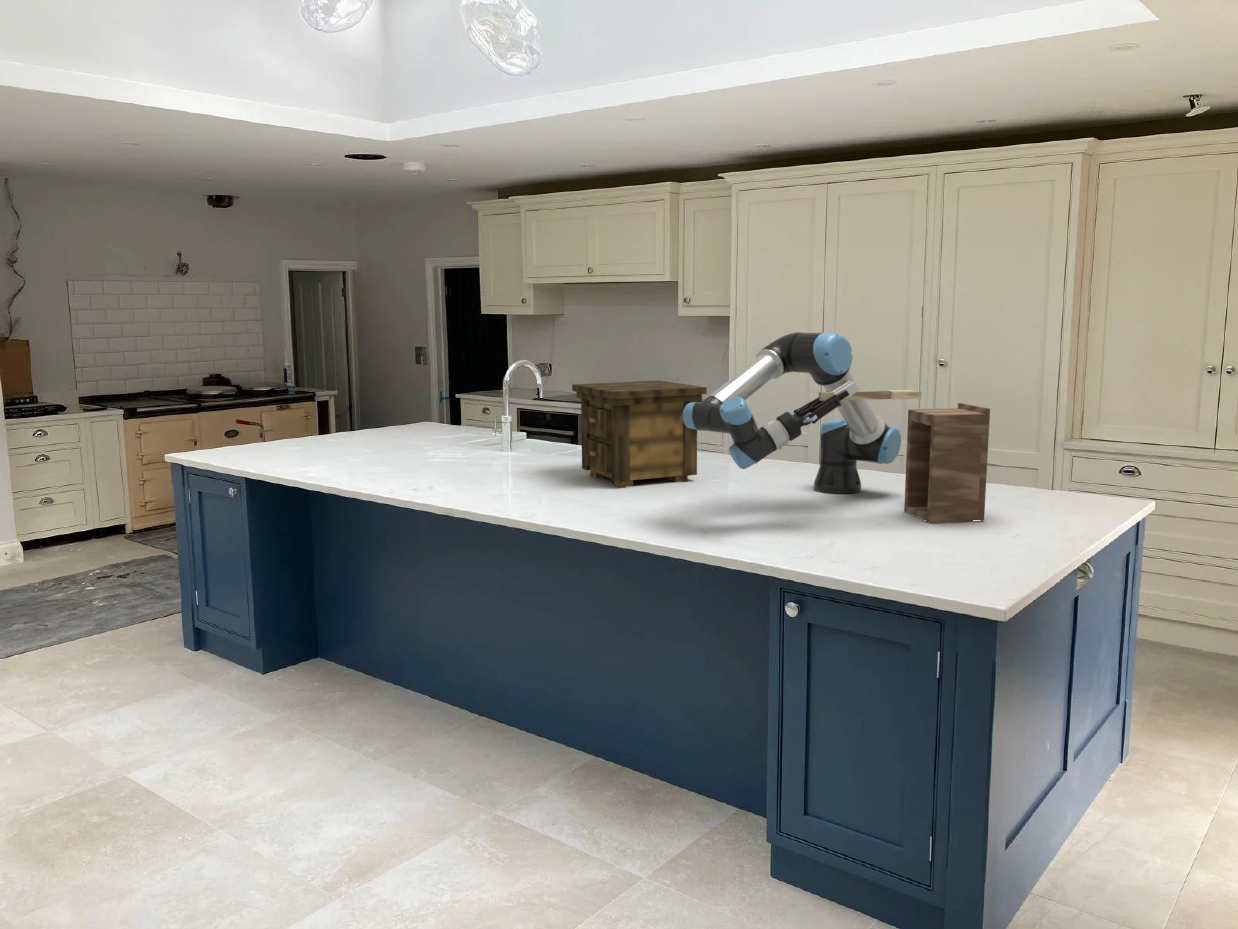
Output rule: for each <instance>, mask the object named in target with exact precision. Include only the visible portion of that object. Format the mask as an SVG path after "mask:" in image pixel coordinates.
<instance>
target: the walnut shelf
mask: <svg viewBox="0 0 1238 929" xmlns="http://www.w3.org/2000/svg"><path fill="white" fill-rule="evenodd" d="M990 418H991V408H988V407H983V406H979V405H974V404H973V405H972V404H967V403H963V402H958V403H957V407H955V408H954V407H952V408H951V407H950V408H921V409H920V408H917V409H915V408H914V409H908V412H907V435H906V455H905V456H906V459H905V460H906V462H905V481H904V482H905V484H904V485H905V486H904V505H903V507H904V510H903V511H905V512H904V513H906V512H907V513H906V514H908V513H910V514H912V515H914V516H913V517H915V516H916V517H915V518H917V517H919V518H921V519H922V520H921V519H920V520H921V521H923V520H926V521H927V522H926V521H925V522H926V523H928V522H929V523H928V524H930V523H935V524H946V523H945V522H956V523H962V522H961V521H973V520H984V521H985V508H986V493H987V492H986V491H987V475H988V473H987V471H988V458H989V457H988V455H989V453H988V452H989V440H990V439H989V436H990V422H991V421H990ZM910 514H909V515H910ZM912 515H911V516H912ZM919 518H918V519H919ZM943 522H944V523H943Z"/></svg>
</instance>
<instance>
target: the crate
mask: <svg viewBox="0 0 1238 929" xmlns="http://www.w3.org/2000/svg"><path fill="white" fill-rule="evenodd" d="M571 387H572V388H571V389H572V392H574V393H576V398H577V399H580V415H581V416H580V421H581V422H580V424H581V426H580V427H581V429H580V430H581V431H580V432H581V469H582V470H584V471H590V476H591V477H593V476H595V477H594V478H602V477H601V476H606V477H605V478H609V479H611V481H613V482H614V485H615V486H616V487H619V486H620V487H619V488H624V487H623V486H629V487H634V481H637V480H639V481H640V480H647V479H660V478H668V477H669V480H670V479H671V480H673V481H672V482H674V481H675V482H676V483H679V482H678V481H681V482H687V481H686V480H689V479H688V477H689V476H697V475H698V430H696V429H691V428H688V427H687V426H686V425H685V424H684V422H683V410H684V408H685V406H686V405H687V404H689V403H692V402H702V401H703V395H707V392H708V391H707V390H708V389H707V386H702V385H701V386H700V385H692V384H688V383H687V384H686V383H679V382H674V381H673V382H672V381H666V380H665V381H664V380H644V381H642V380H640V381H639V380H638V381H619V382H618V381H617V382H599V383H598V382H597V383H578V384H577V383H574V384H571ZM671 480H670V481H671Z"/></svg>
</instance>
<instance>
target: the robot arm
mask: <svg viewBox="0 0 1238 929" xmlns="http://www.w3.org/2000/svg"><path fill="white" fill-rule="evenodd" d="M852 352H853V350H852V345H851V343H850V342H849V340H848V339H847V338H846V337H845V336H844V335H842V334H839V333H835V332H791V333H788V334H785V335H782V336H781V337H779V338H777V339H775V340H773V341H772V342H770V343H768V344H767V345H766V346H764V347H763V348H762V349H760V350H759V351H758V352H757V354H756V355H755V356H756V357H755V358H754V360H752V361H751V362H750V363H748V364H747V365H746V366H745V367H743V368H742V369H741V370H739V371H738V372H737V373H736V374H735V375H734V376H732V377H731V378H730V379H728V381H725V383H723V384H722V385H721V386H720V387H718V388H717V389H716V390H715V391H713V392H712V393H711V394H710V395H709V396H708V395H707V397H706V398H705V399H702V401H697V402H692V403H689V404H687V405H686V406H685V408H684V410H683V422H684V424H685V425H686V426H687V427H688V428H691V429H696V430H697V431H704V432H714V433H720V434H721V433H722V434H729V435H730V436H731V439H732V442H733V443H732V445H731V446H729V448H728V452H729V454H730V456H731V458H732V460H733V461H734V463H735V464H736V465H737V467H738V468H740V469H741V470H746V469H747V468H750V467H752V466H753V465H756V464H758V463H759V462H760V461H762V460H763V459H764V458H766V457H767V456H769V455H770V454H772V453H773V452H775V451H777V450H782V449H783V447H784V446H785V445H787V444H788V443H789V442H791V441H794V440H796V439H797V438H798V437H800V436H801V435H802V433H803V432H802V430H801V429H802V427H805V426H808V425H810V424H811V423H812V425H814V424H816V423H817V422H818V421H819V420H820V419H822V418H824V417H825V416H827V415H828V414H829V413H831V412H832V411H834V410H835V409H837V410H838V411H839V413H840V415H841V417H842V419H833V420H827V421H824V422H822V424H821V428H820V434H819V435H820V452H819V454H820V455H819V467H818V470H817V473H816V476H815V479H814V482H813V490H815V491H817V490H819V491H818V492H820V491H822V492H821V493H826V492H827V494H840V493H843V494H853V493H855V492H856V493H859V492H861V491H862V481H861V478H860V475H859V474H860V473H859V471H858V469H857V468H858V467H857V461H858V462H864V463H865V462H867V463H874V464H878V465H881V464H883V465H884V464H885V465H889V464H891V463H893V462H894V461H895V460H896V459H897V457H898V455H899V453H900V450H901V446H902V433H901V431H900V430H899V428H897V427H894V426H888V425H887V422H885V419H884V418H883V417H882V416H881V415H878V414H875V412H874V411H873V409H872V407H871V405H870V404H869V401H868V400H845V399H846V398H848V397H849V396H851V395H853V394H854V393H856V392H857V391H862V390H861V389H860V386H859V385H858V383H857V381H856V380H855V378H854V376H853V375H852V373H851V372H850V370H851V365H852V363H853V354H852ZM788 373H804V374H809V375H810V376H811V378H812V380H813V381H814V382H815V384H817V386H818V385H819V386H821V387H822V386H823V387H824V389H825V392H836V393H835V394H834V396H832V397H830V398H829V399H827V400H825V401H820V400H819V396H818V397H816V398H815V399H813V400H811V401H810V402H807V403H806V404H804V405H803V406H801V407H798V408H797V409H794V410H793V411H792V412H793V414H791V413H790V412H789V411H786V412H785V411H784V413H782V414H780V415H779V416H777V417H776V419H772V420H770V421H769V422H767V423H766V424H764V425H763V426H761V427H760V428H759V427H758V425H757V422H756V420H755V418H754V414H753V412H752V409H751V408H750V407H749V405H748V403H747V402H746V400H748V399H750V397H752V396H753V395H754V394H755V393H756V392H757V391H759V390H760V389H761V388H763V387H764V386H765V385H766V384H768V383H769V382H770V381H771V380H772V379H779V378H780V377H781V376H782V375H785V374H788ZM860 490H861V491H860ZM858 491H859V492H858Z"/></svg>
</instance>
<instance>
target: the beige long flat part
mask: <svg viewBox="0 0 1238 929" xmlns="http://www.w3.org/2000/svg"><path fill="white" fill-rule="evenodd" d="M835 393H836V392H826V391H819V392H818V397H819V400H820V401H825V400H827V399H829V398H830V397H832V396H834V394H835ZM921 399H922V391H920V390H913V389H895V390H891V389H889V390H861V391H857V392H856V393H854V394H853V395H851V396H849V397H848V398H846V399H845V400H867V401H868V400H869V401H870V400H896V401H897V400H921Z"/></svg>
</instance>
